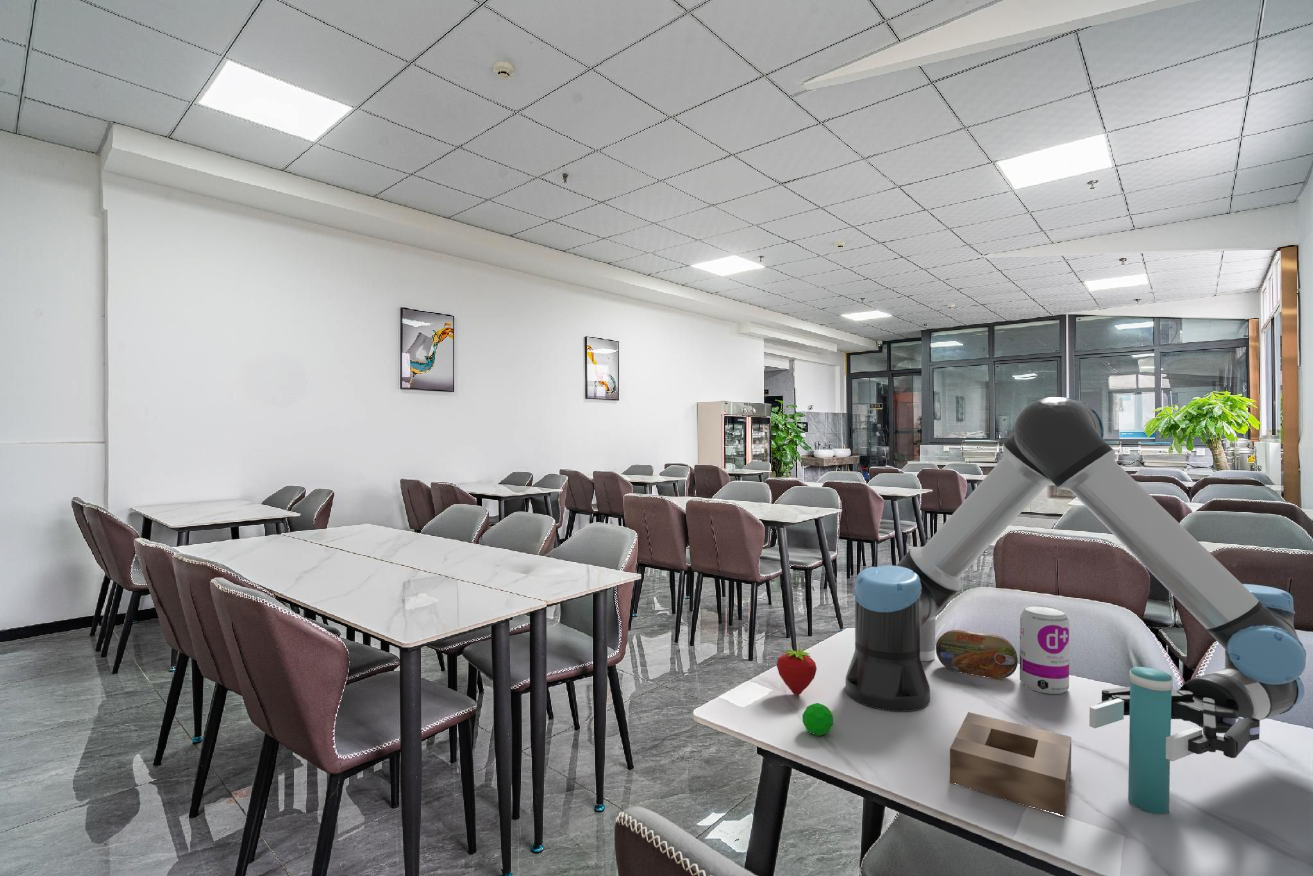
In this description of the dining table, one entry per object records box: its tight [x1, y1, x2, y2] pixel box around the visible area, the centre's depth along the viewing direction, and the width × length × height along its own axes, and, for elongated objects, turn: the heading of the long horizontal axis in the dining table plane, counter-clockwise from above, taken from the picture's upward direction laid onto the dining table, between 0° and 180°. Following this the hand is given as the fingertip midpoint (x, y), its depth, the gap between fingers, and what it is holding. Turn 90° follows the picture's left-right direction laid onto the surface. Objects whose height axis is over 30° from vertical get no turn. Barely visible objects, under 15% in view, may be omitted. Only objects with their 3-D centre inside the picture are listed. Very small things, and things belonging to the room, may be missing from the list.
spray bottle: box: [920, 616, 937, 662], centre depth 141 cm, size 7×7×18 cm
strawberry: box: [776, 641, 818, 696], centre depth 121 cm, size 6×8×10 cm
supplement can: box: [1019, 604, 1071, 695], centre depth 124 cm, size 8×8×15 cm
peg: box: [1127, 666, 1174, 815], centre depth 86 cm, size 5×5×18 cm
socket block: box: [949, 711, 1072, 817], centre depth 93 cm, size 14×14×5 cm
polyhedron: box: [802, 702, 834, 736], centre depth 106 cm, size 5×5×5 cm
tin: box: [935, 629, 1019, 680], centre depth 131 cm, size 15×3×8 cm, turn 58°
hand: (1128, 732), depth 84 cm, fingers open, 9 cm apart
